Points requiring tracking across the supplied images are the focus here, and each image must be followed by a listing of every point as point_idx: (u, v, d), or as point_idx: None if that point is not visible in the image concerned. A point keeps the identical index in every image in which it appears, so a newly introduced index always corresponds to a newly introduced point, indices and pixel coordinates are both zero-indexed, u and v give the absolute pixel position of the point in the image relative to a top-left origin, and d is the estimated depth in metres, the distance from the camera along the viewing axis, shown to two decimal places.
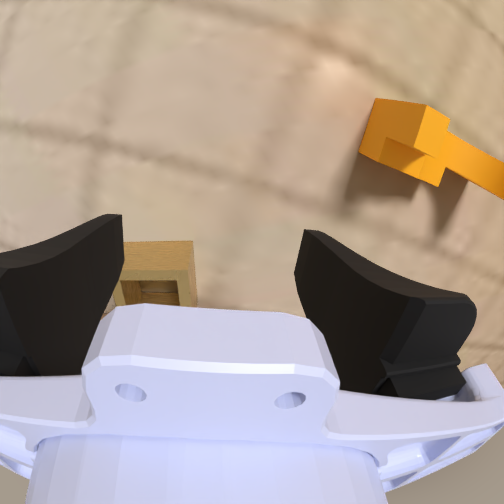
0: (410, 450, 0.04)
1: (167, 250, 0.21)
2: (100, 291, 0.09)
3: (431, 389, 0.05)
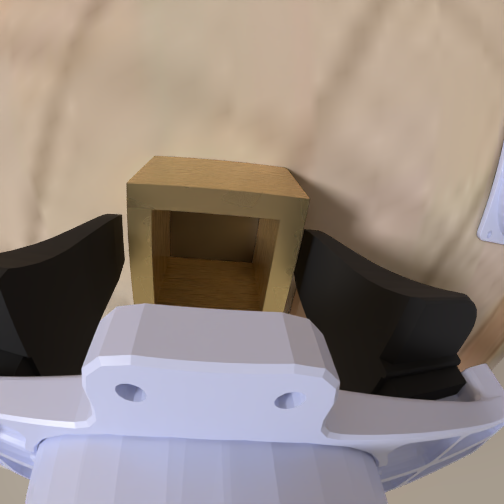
0: (410, 450, 0.04)
1: None
2: (100, 291, 0.09)
3: (431, 389, 0.05)
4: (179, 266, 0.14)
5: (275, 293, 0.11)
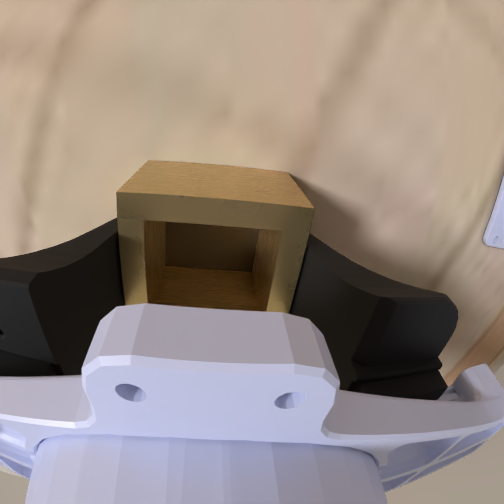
0: (410, 450, 0.04)
1: None
2: (120, 293, 0.09)
3: (407, 395, 0.05)
4: (175, 276, 0.13)
5: (277, 308, 0.10)
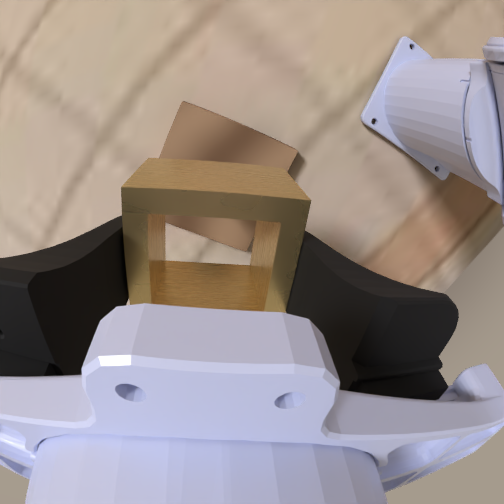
0: (410, 450, 0.04)
1: None
2: (119, 293, 0.09)
3: (408, 395, 0.05)
4: (175, 270, 0.13)
5: (276, 297, 0.11)
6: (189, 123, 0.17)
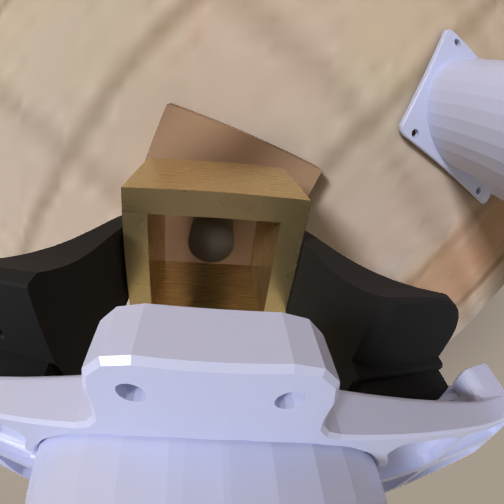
0: (410, 450, 0.04)
1: None
2: (119, 293, 0.09)
3: (407, 395, 0.05)
4: (175, 270, 0.13)
5: (276, 297, 0.11)
6: (177, 133, 0.13)
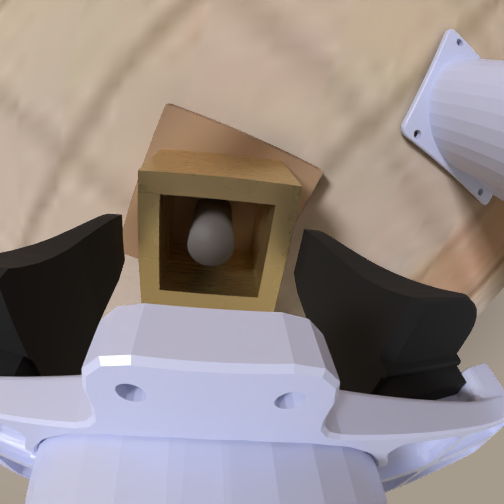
0: (410, 450, 0.04)
1: None
2: (100, 291, 0.09)
3: (431, 389, 0.05)
4: (181, 252, 0.15)
5: (271, 274, 0.12)
6: (176, 133, 0.13)
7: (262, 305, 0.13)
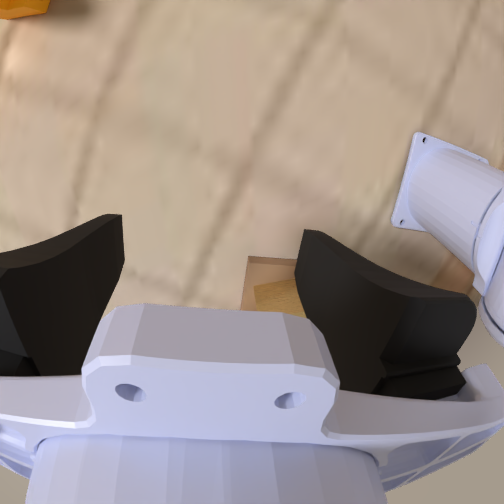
0: (410, 450, 0.04)
1: None
2: (100, 291, 0.09)
3: (431, 389, 0.05)
4: None
5: None
6: (260, 276, 0.23)
7: None
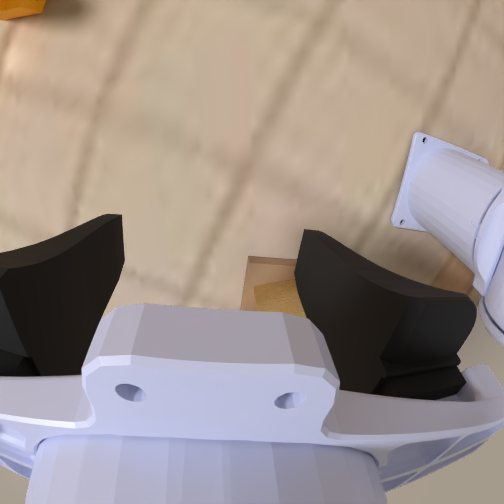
0: (410, 450, 0.04)
1: None
2: (100, 291, 0.09)
3: (431, 390, 0.05)
4: None
5: None
6: (260, 276, 0.23)
7: None
